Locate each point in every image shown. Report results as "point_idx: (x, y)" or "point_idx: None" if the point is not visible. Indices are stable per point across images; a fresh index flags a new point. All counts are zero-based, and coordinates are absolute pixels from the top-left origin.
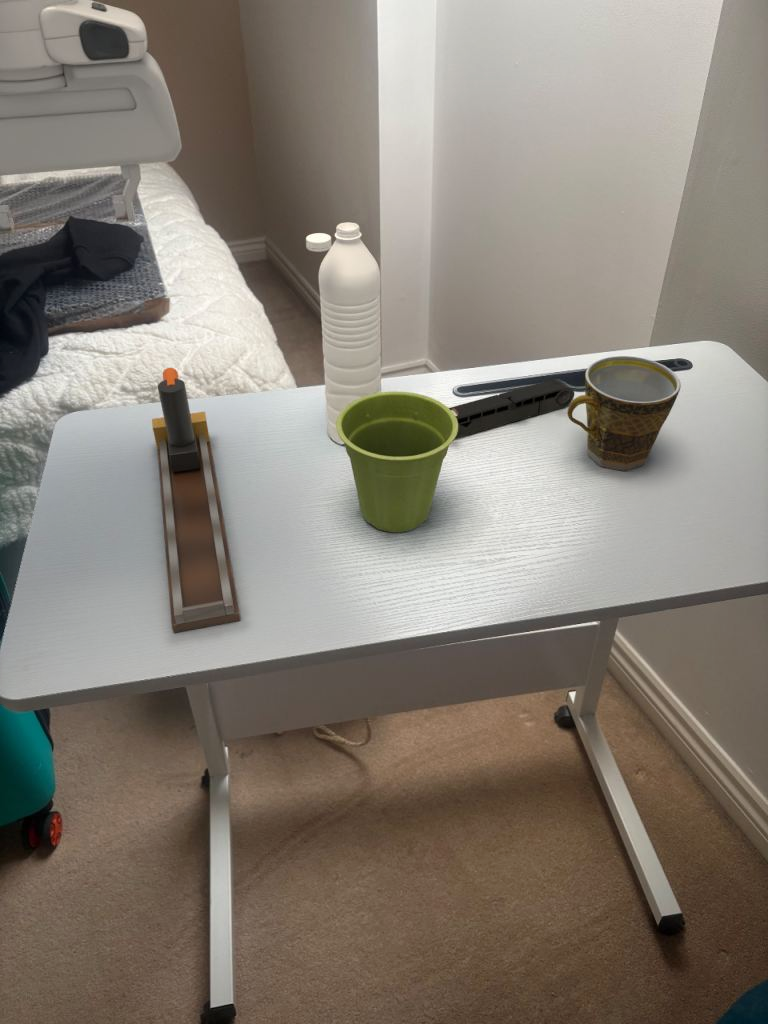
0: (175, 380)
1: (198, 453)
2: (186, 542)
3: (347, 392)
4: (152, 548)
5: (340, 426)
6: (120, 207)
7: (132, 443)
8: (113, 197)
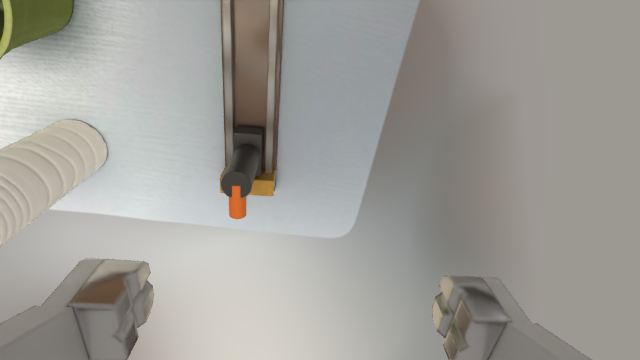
0: (230, 193)
1: None
2: (261, 11)
3: (40, 146)
4: (296, 28)
5: (4, 7)
6: (98, 291)
7: (297, 193)
8: (118, 344)
